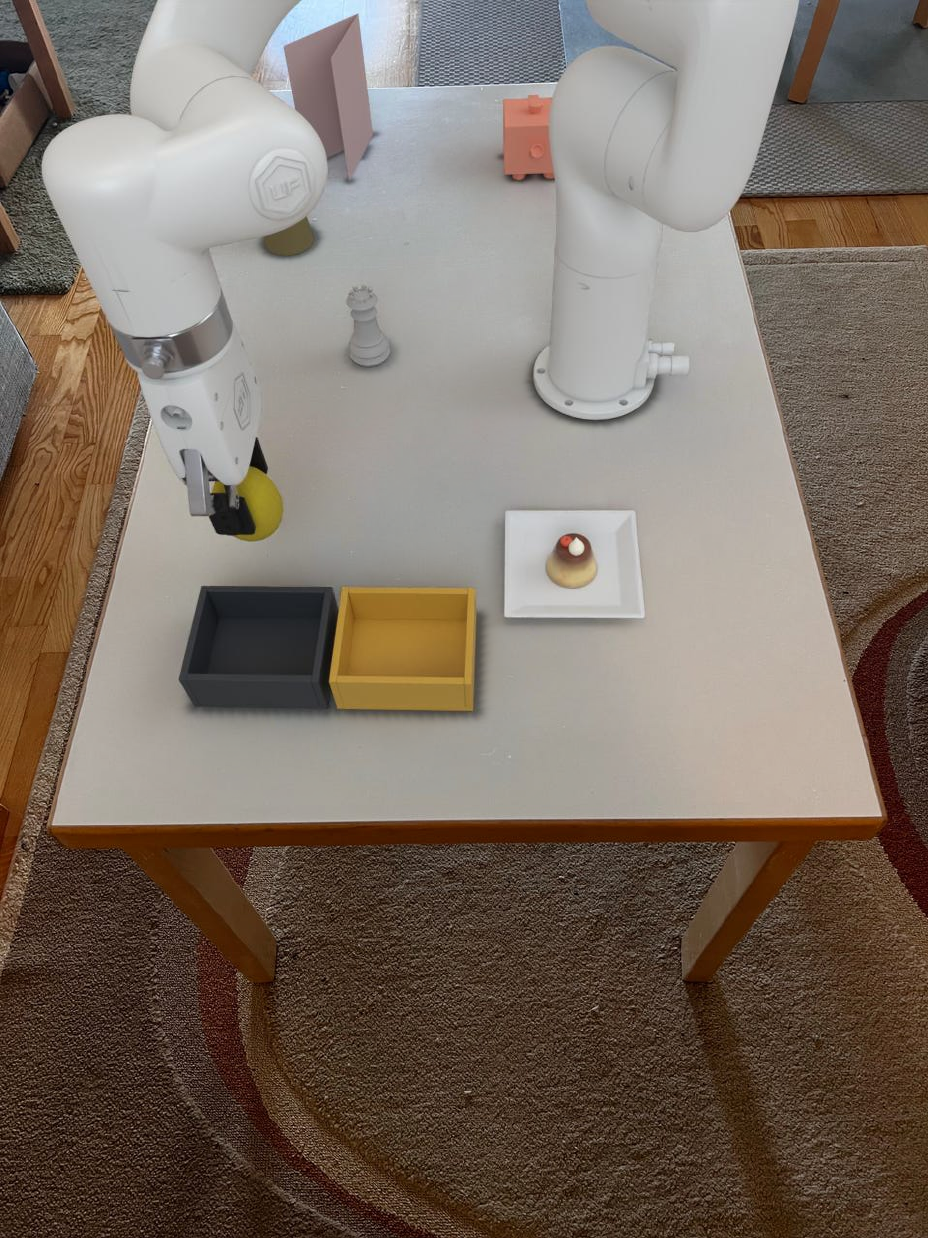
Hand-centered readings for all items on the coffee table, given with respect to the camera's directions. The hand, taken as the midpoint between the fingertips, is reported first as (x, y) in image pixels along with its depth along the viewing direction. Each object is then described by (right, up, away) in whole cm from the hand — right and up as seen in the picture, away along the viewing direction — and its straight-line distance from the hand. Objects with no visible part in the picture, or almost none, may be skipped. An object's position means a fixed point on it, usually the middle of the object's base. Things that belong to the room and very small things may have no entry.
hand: (243, 500), depth 75 cm
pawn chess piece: (-3, +37, +37) cm, 52 cm away
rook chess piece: (+8, +19, +25) cm, 32 cm away
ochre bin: (+14, -13, +2) cm, 19 cm away
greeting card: (+3, +51, +46) cm, 69 cm away
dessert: (+28, -5, +7) cm, 29 cm away
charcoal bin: (+2, -13, +3) cm, 14 cm away
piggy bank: (+27, +49, +44) cm, 71 cm away
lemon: (+1, -2, +4) cm, 5 cm away
